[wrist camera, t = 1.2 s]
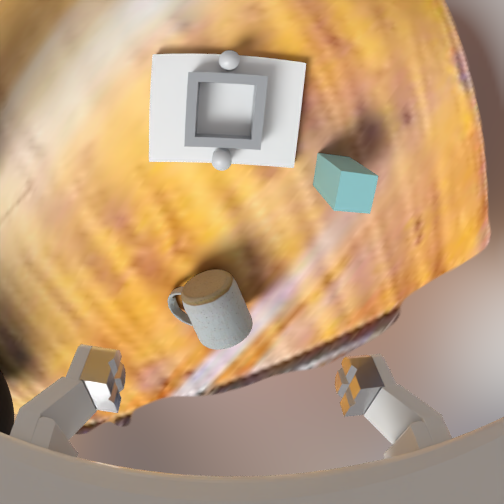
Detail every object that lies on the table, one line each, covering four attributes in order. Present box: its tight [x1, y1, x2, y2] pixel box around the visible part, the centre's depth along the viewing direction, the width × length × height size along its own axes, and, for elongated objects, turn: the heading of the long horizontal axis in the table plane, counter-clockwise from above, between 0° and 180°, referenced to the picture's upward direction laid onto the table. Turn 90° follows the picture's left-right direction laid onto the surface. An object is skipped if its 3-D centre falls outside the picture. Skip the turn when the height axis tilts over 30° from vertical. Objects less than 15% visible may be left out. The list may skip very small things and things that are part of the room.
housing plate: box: [149, 50, 306, 170], centre depth 30 cm, size 16×12×4 cm
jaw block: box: [313, 153, 378, 214], centre depth 33 cm, size 4×4×8 cm
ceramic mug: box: [168, 269, 252, 349], centre depth 40 cm, size 11×8×8 cm
